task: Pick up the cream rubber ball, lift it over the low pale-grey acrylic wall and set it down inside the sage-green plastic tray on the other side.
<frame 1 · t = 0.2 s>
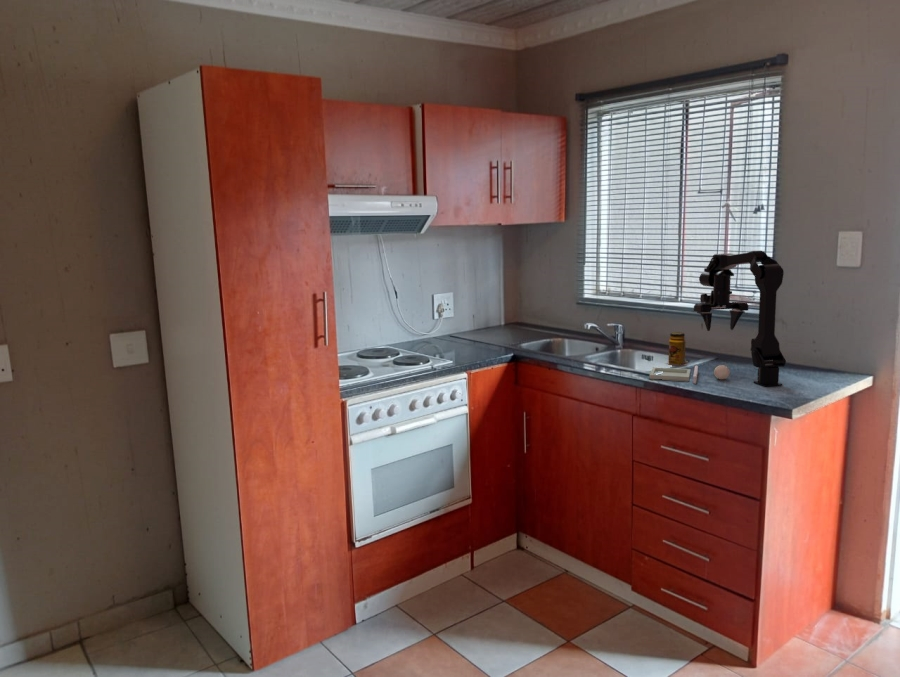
hand: (720, 330, 252), 14 cm above the countertop, fingers open, 9 cm apart
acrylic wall: (695, 377, 240), on the countertop
tray: (670, 376, 243), on the countertop
ball: (721, 372, 237), point 2 cm above the countertop
condiment: (677, 363, 265), on the countertop
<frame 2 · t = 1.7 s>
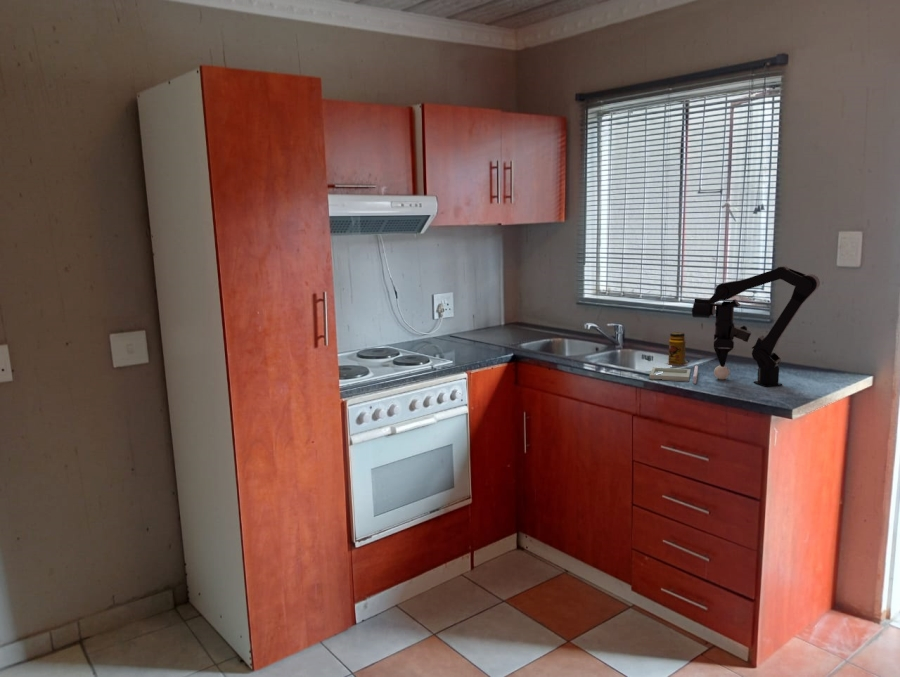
hand: (722, 364, 236), 5 cm above the countertop, fingers open, 9 cm apart
nothing on the countertop moved.
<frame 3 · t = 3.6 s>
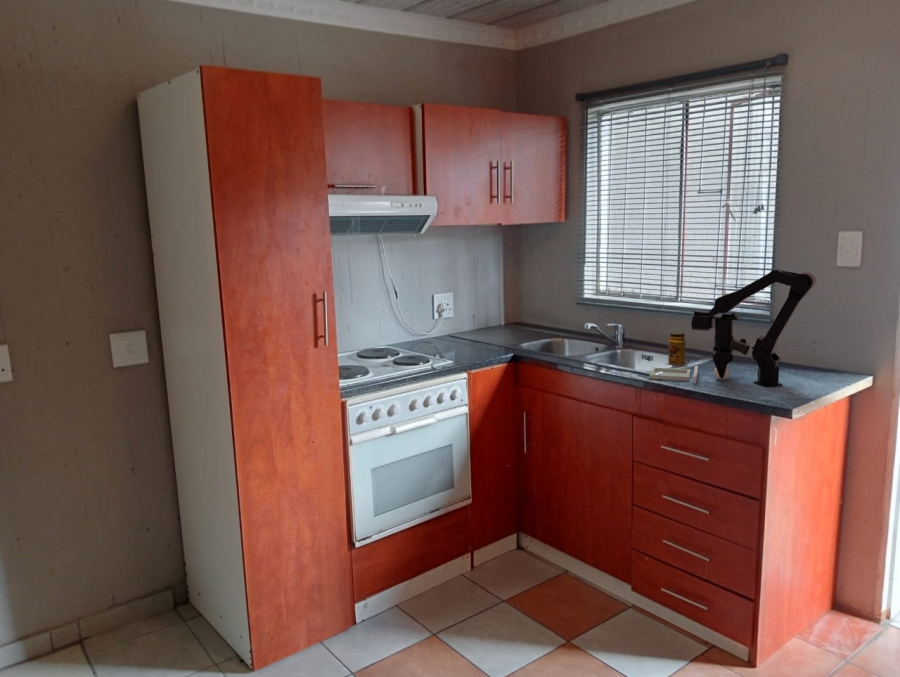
hand: (721, 376, 237), 1 cm above the countertop, fingers closed on ball, 5 cm apart
ball: (721, 372, 237), point 2 cm above the countertop, touching gripper
everything else where it was.
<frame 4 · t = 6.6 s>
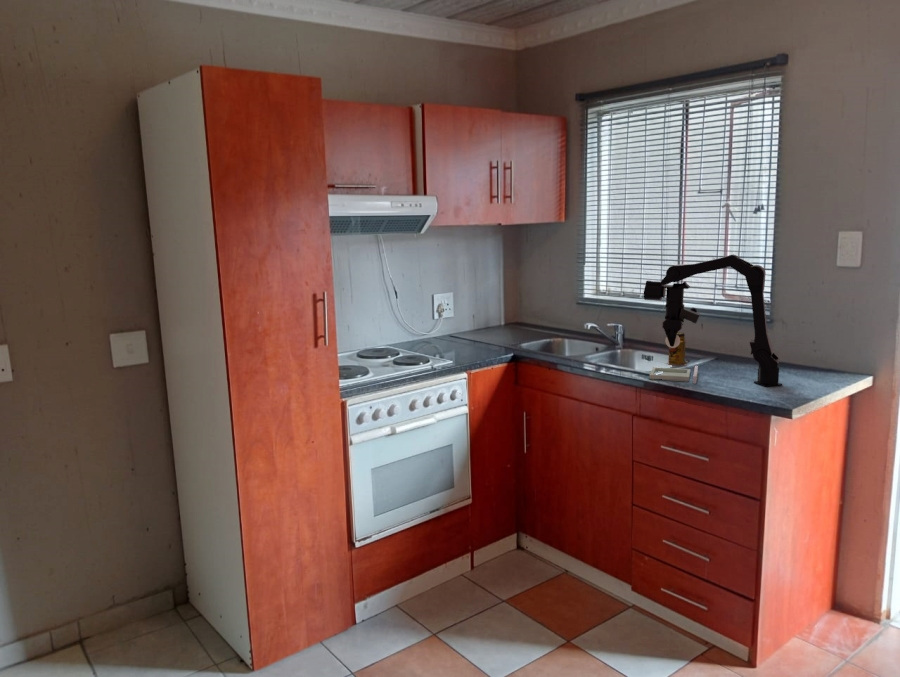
hand: (672, 345, 241), 11 cm above the countertop, fingers closed on ball, 5 cm apart
ball: (672, 340, 241), point 13 cm above the countertop, touching gripper
everything else where it was.
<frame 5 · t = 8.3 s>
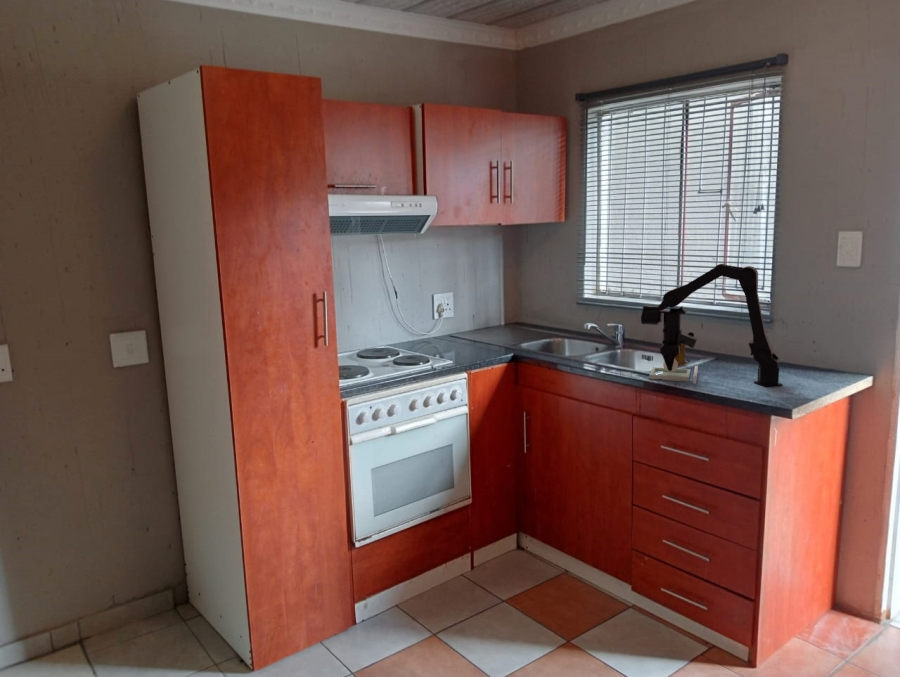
hand: (670, 369, 243), 3 cm above the countertop, fingers closed on ball, 5 cm apart
ball: (670, 365, 243), point 4 cm above the countertop, touching gripper
everything else where it was.
when the fingers open (2 cm above the countertop, at t = 9.5 s): ball stays where it is, resting on tray.
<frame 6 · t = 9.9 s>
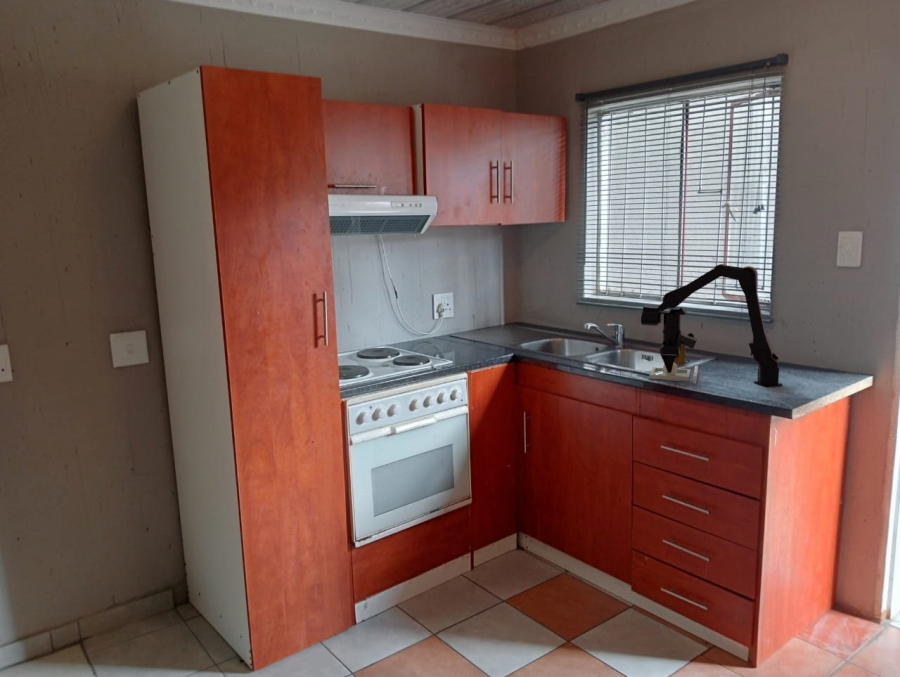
hand: (670, 370, 243), 2 cm above the countertop, fingers open, 9 cm apart
ball: (670, 368, 243), point 3 cm above the countertop, touching tray
everything else where it was.
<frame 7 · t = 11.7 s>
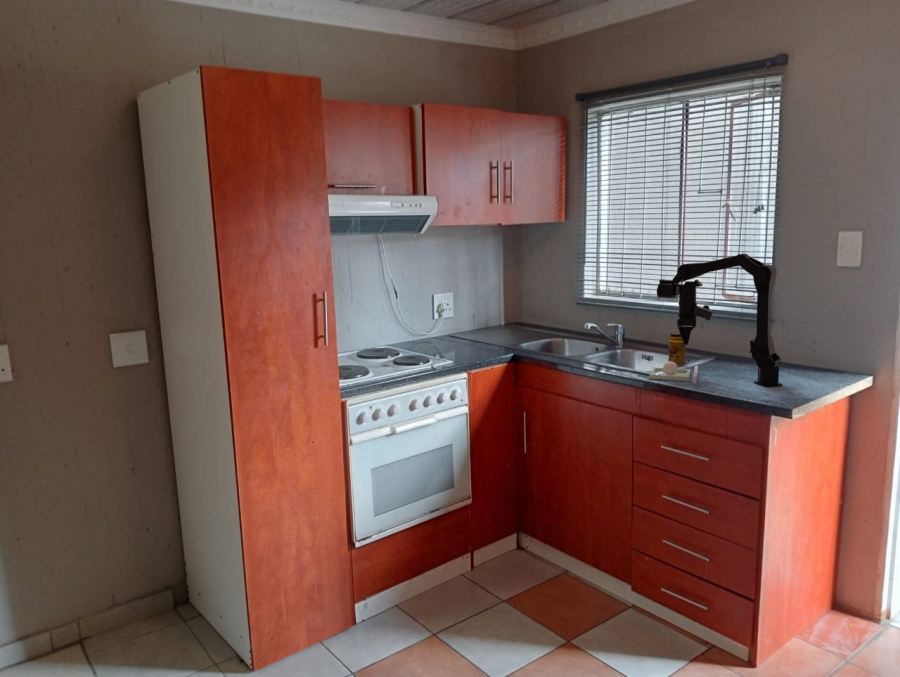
hand: (686, 342, 244), 12 cm above the countertop, fingers open, 9 cm apart
nothing on the countertop moved.
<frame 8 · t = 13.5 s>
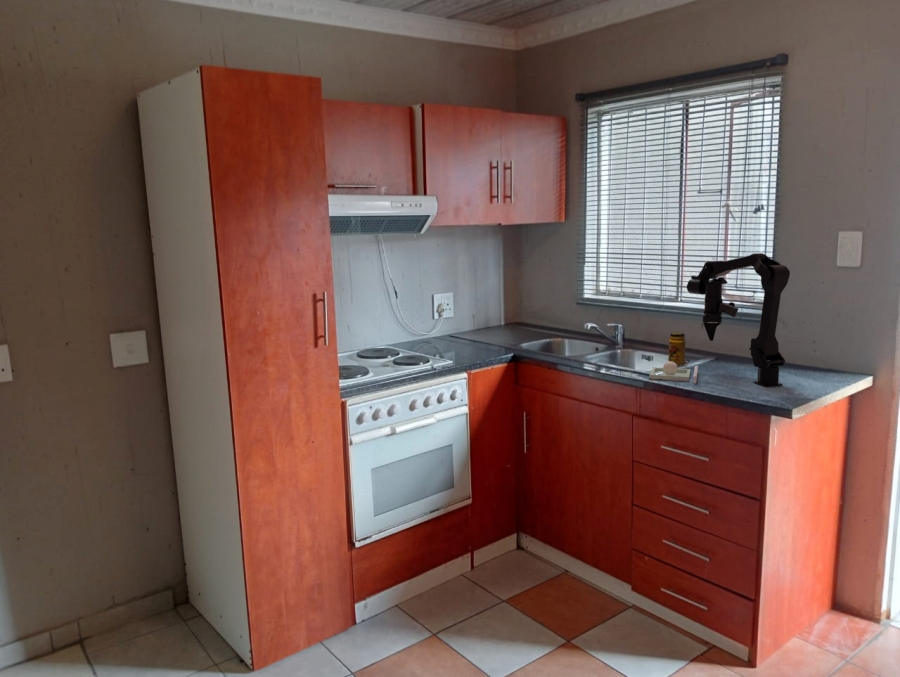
hand: (711, 338, 248), 12 cm above the countertop, fingers open, 9 cm apart
nothing on the countertop moved.
at the end: ball inside the target area on the tray (0.1 cm from its centre), point 2.9 cm above the tray's base; the gripper is holding nothing; ball moved 17.0 cm from its start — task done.
